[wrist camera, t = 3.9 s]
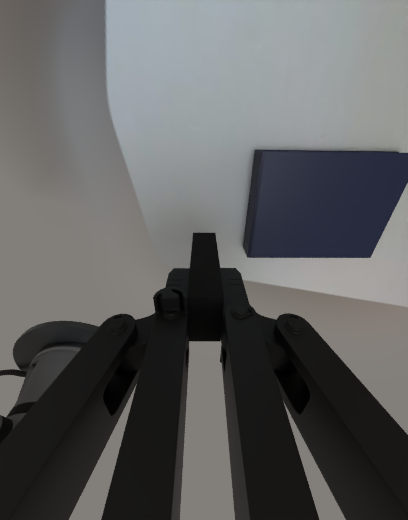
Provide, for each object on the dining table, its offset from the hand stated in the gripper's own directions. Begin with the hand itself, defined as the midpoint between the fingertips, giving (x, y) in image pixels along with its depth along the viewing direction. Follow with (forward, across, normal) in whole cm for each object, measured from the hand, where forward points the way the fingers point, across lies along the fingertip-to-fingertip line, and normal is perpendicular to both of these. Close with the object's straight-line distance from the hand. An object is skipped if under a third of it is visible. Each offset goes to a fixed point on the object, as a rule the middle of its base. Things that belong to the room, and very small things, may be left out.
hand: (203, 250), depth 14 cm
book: (+13, +14, 0) cm, 19 cm away
